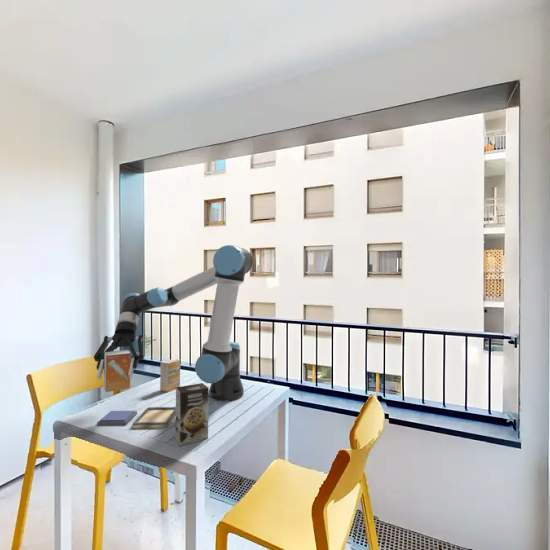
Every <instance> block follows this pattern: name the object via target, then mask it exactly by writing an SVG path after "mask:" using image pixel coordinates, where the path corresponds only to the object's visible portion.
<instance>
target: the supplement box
mask: <svg viewBox="0 0 550 550" xmlns="http://www.w3.org/2000/svg"><path fill="white" fill-rule="evenodd" d="M159 370H160V371H159V372H160V374H159V375H160V376H159V377H160V380H159V381H160V384H159V385H160V386H159V390H160V392H164V393H168V392H171V391H173V390H176V387H181V359H179V358H171V359H167V360H164V361H160V369H159Z"/></svg>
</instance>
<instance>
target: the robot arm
mask: <svg viewBox="0 0 550 550" xmlns="http://www.w3.org/2000/svg"><path fill="white" fill-rule="evenodd" d="M212 263H213V264H212V265H213V266H212V267H210V268H208V269H206V270H203V271H202V272H199V273H197V274H195V275H194V276H191V277H188V278H187V279H185V280H182V281H181V282H178V283H177V284H175V285H173V286H170V287H168V288H166V289H164V288H162V287H160V286H158V287H156V288H152V289H150V290H147V291H145V292H143V293H138V292H129V293H126V295H125V296H124V299H123V301H122V304H121V309H120V312H119V316H118V319H117V324H116V326H115V329H114V334H113V335H112V336H108V335H105V336H104V338H103V341H102V343H101V344H100V346H99V348H98V349H97V351H96V352H95V354H94V355H93V359H94V362H97V364H96V367H95V368H96V370H97V374H96V378H97V379H98V380H99V381H100V380H102V377H103V374H104V352H112V351H116V350H117V349H119V348H122V347H124V348H127V347H128V350H129V352H130V353H131V356H132V357H133V358H132V357H131V364H130V369H129V373H128V375H129V378H130V379H132V378H133V374H134V370H135V369H137V368H138V365H139V364H138V363H139V361H143V360H144V359H145V355H144V349H143V341H144V338H143V335H142V334H140V335H137V336H136V334H137V327H138V325H139V320H140V319H139V318H140V315H141V314H142V313H144V312H148V311H150V310H152V309H156V308H162V307H172V306H175V305H177V304H178V303H179V302H180V301H182V300H185V299H188V298H189V297H191V296H193V295H195V294H197V293H200V292H202V291H204V290H206V289H208V288H210V287H213V286H215V285H216V289H215V294H214V296H215V297H214V302H213V305H212V306H213V307H212V313H211V319H210V325H209V330H208V336H207V341H206V342H204V343H203V344H202V347H201V354H200V356H199V357H198V358H197V360H195V364H194V370H195V371H194V372H195V373H196V376H197V377H198V378H199V379H200V381H201V382H204V383H206V384H210V386H209V399H211V400H214V401H219V402H220V401H221V402H223V401H224V402H225V401H226V400H229V401H234V400H233V399H235V400H237V399H236V398H238V399H240V398H242V397H243V396H244V394H245V393H244V392H245V391H244V390H245V389H244V385H243V382H242V379H241V375H240V373H241V372H240V371H241V370H240V369H241V366H240V365H241V364H240V363H241V348H240V344H239V343H238V342H237V341H236V342H235V341H233V342H232V341H230V339H231V334H232V329H233V322H234V316H235V311H236V307H237V306H236V305H237V299H238V293H239V288H240V286H241V285H242V283H244V282H245V281H244V280H245V276H246V274H248V273H249V272H250V271H251V270H252V268H253V264H254V260H253V256H252V255H251V253H250V251H248V250H247V249H245V248H243V247H240V246H238V245H234V244H233V245H231V244H227V245H223V246H221V247H220V248H218V249H217V250H216V252H215V253H214V255H213V259H212ZM135 341H136V342H137V346H138V353H139V355H138V353H137V351H136V349H135V348H134V346H133V342H135ZM110 343H111V344H110ZM109 344H110V345H109ZM242 395H243V396H242ZM241 396H242V397H241ZM239 397H240V398H239ZM226 402H227V401H226Z"/></svg>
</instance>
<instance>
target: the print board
mask: <svg viewBox="0 0 550 550" xmlns="http://www.w3.org/2000/svg"><path fill="white" fill-rule="evenodd" d="M175 418H176V406H148V407H146V409H145V410H144V411H143V412H141V414H140V415H139V416H138V417H137V418H136V419H135V420H134V422H132V425H131V429H168V427H169V426H170V425H171V423H172V422H173V420H174V419H175Z"/></svg>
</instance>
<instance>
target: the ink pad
mask: <svg viewBox="0 0 550 550" xmlns="http://www.w3.org/2000/svg"><path fill="white" fill-rule="evenodd" d="M137 415H138V411H137V410H111V411H109V412H108V413H107V414H106V415H104V416H103V417H101V419H99V420H98V421H97V422H96V423H97V424H96V425H97V426H127V425H128V424H129V423H130V422H131V421H132V420H133V419H134V418H135V417H137ZM98 424H99V425H98Z"/></svg>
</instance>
